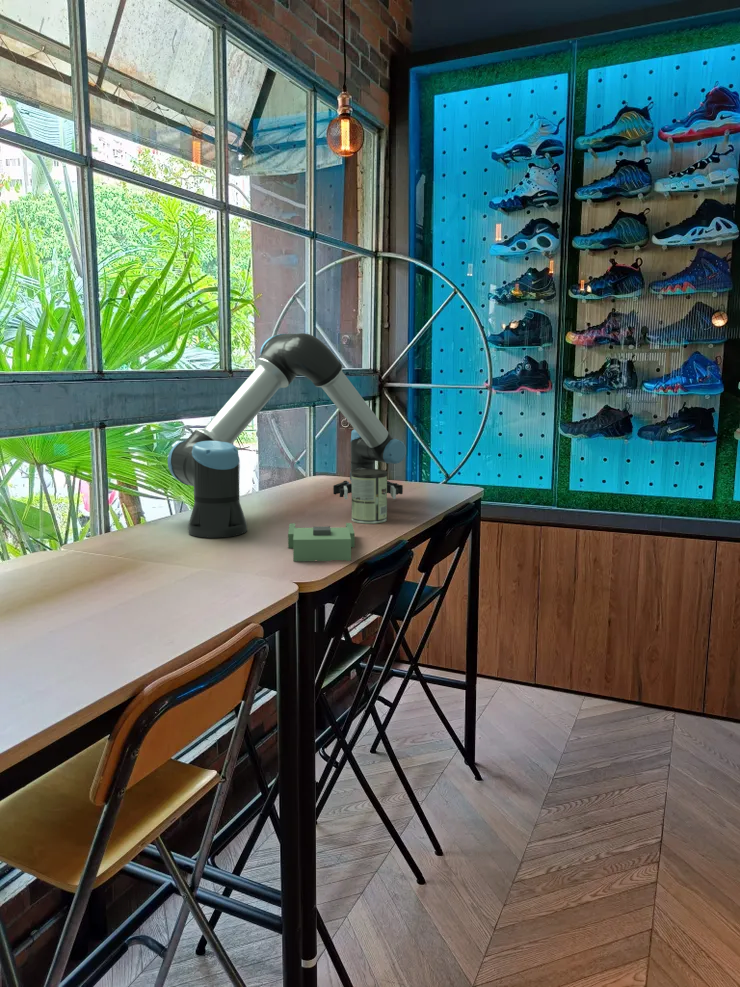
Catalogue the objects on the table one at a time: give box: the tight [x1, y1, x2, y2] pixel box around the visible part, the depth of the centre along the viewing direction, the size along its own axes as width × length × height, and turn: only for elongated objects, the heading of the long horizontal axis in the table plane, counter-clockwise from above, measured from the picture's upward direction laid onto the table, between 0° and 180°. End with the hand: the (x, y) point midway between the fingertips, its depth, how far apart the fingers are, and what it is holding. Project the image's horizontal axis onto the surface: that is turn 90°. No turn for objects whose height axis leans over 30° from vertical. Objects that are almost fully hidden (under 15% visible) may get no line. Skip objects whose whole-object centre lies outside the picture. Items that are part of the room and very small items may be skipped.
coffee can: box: [350, 468, 389, 525], centre depth 210 cm, size 10×10×14 cm
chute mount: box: [287, 522, 356, 562], centre depth 178 cm, size 16×24×6 cm, turn 5°
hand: (370, 494), depth 207 cm, fingers open, 13 cm apart
